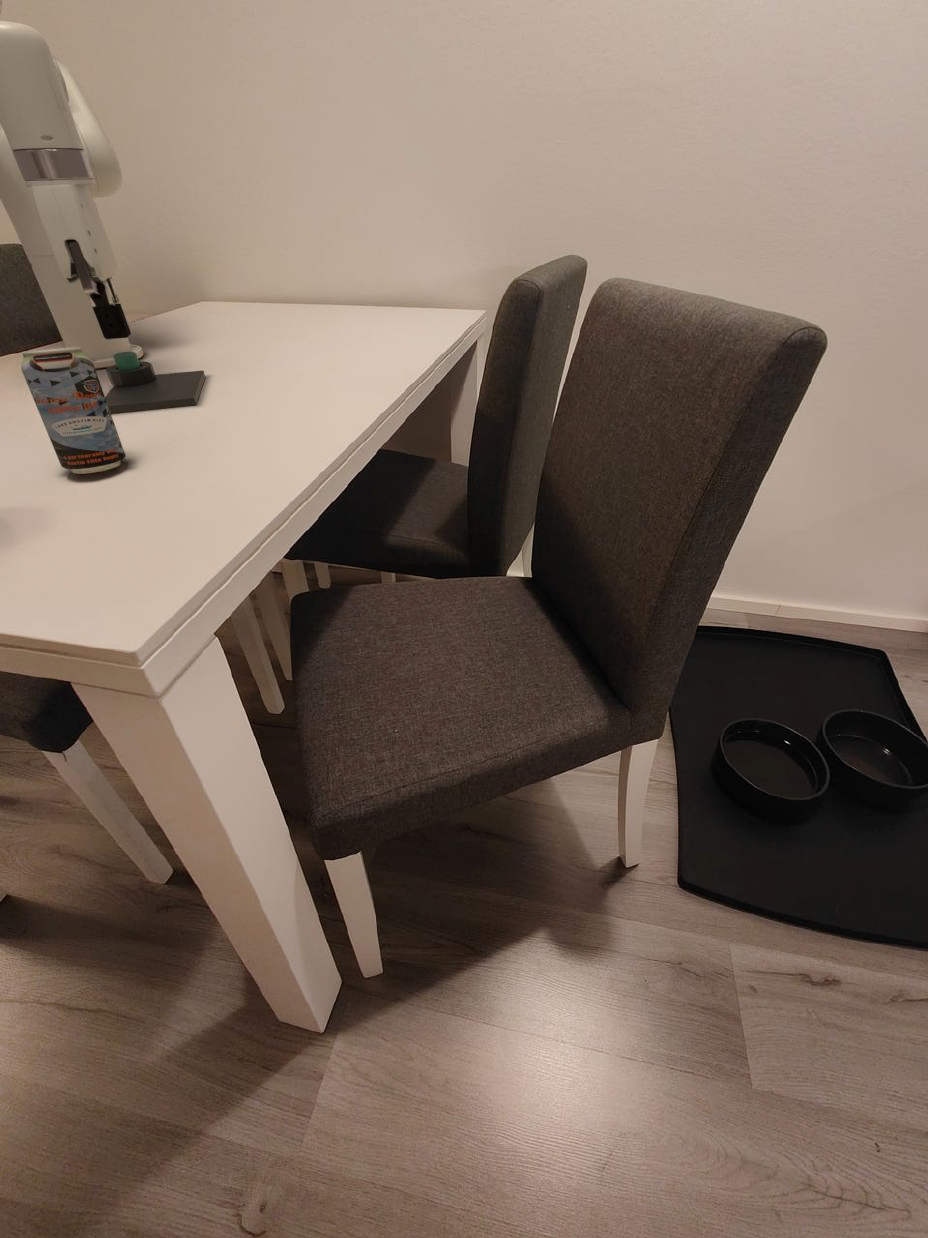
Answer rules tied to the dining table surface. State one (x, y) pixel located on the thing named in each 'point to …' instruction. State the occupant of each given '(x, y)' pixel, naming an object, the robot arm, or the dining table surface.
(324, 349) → the dining table surface
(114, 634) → the dining table surface
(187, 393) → the scale
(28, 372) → the beverage can
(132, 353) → the button
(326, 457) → the dining table surface
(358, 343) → the dining table surface
